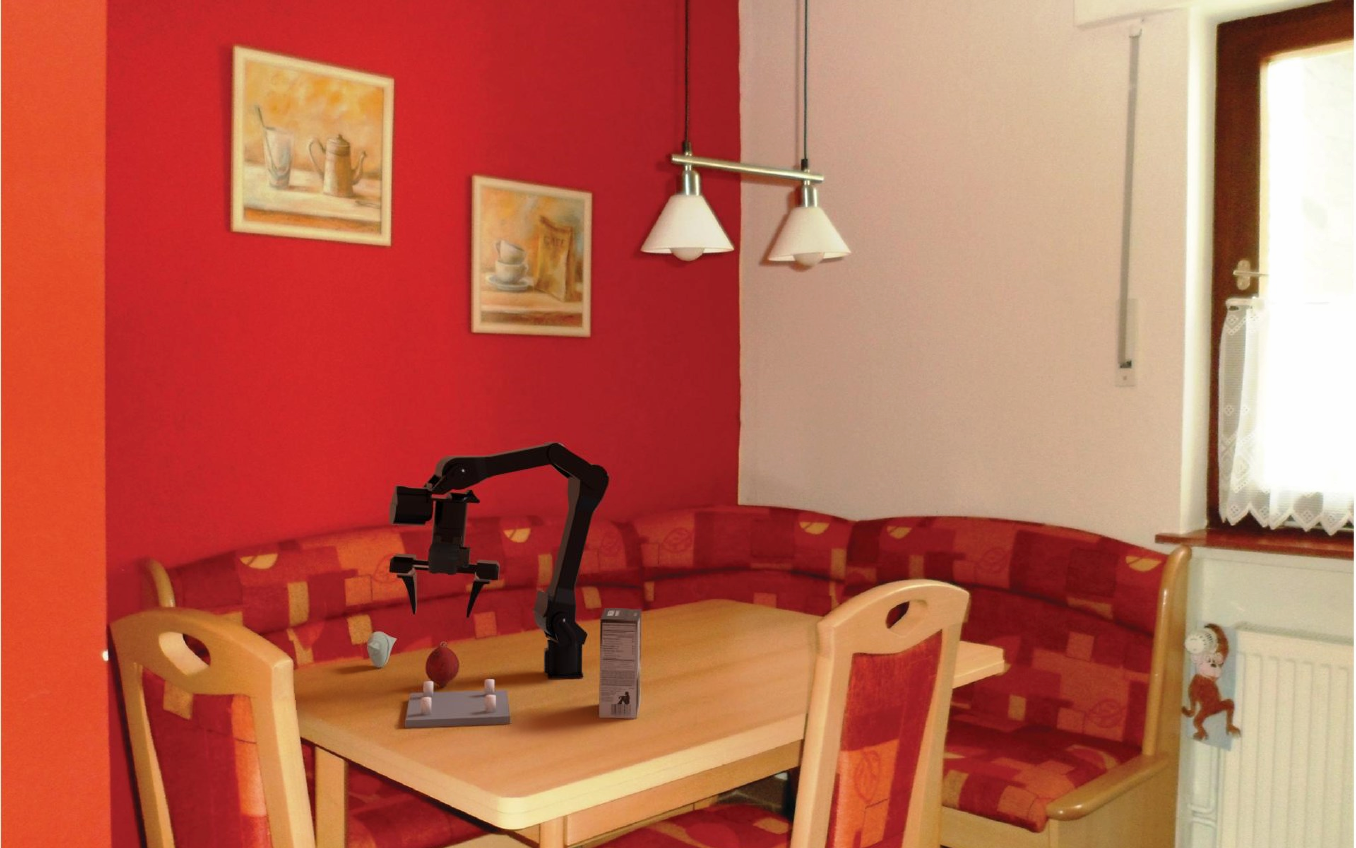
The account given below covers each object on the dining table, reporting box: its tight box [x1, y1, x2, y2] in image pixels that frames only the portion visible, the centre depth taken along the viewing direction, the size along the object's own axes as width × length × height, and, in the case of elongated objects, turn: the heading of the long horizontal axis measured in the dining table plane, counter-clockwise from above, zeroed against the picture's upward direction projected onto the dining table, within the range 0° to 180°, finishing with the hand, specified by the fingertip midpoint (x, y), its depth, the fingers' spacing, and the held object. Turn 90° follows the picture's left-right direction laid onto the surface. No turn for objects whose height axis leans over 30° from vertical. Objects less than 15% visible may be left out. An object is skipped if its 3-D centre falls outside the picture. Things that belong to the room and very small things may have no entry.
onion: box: [424, 641, 460, 688], centre depth 197 cm, size 6×6×8 cm
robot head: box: [366, 631, 397, 668], centre depth 211 cm, size 8×4×7 cm, turn 163°
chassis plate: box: [404, 678, 511, 729], centre depth 182 cm, size 16×16×4 cm
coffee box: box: [598, 607, 642, 720], centre depth 184 cm, size 9×6×16 cm
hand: (441, 615), depth 197 cm, fingers open, 9 cm apart
